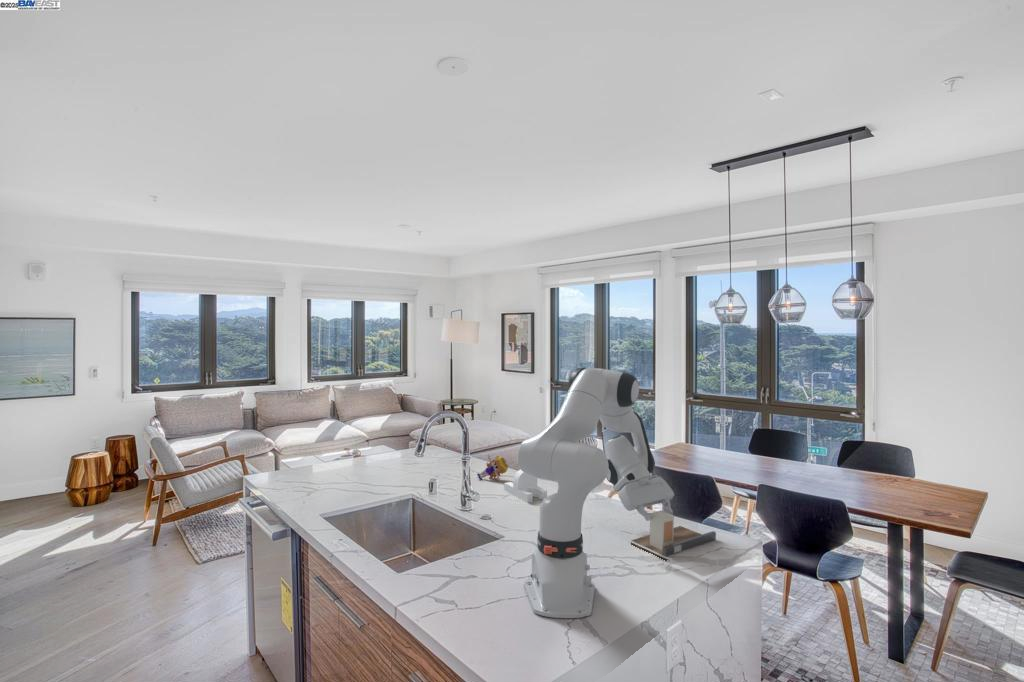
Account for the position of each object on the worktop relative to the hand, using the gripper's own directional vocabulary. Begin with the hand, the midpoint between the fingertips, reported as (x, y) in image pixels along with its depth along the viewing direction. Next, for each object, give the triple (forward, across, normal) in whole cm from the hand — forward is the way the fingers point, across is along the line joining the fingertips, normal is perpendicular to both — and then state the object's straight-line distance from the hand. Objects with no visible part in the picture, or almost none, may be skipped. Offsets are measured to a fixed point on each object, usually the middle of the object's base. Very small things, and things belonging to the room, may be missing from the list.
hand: (660, 516), depth 160 cm
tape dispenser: (-40, +6, -55) cm, 68 cm away
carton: (+7, 0, -6) cm, 9 cm away
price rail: (+11, -7, -2) cm, 13 cm away
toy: (-59, +5, -74) cm, 95 cm away
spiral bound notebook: (+7, -7, -7) cm, 12 cm away
